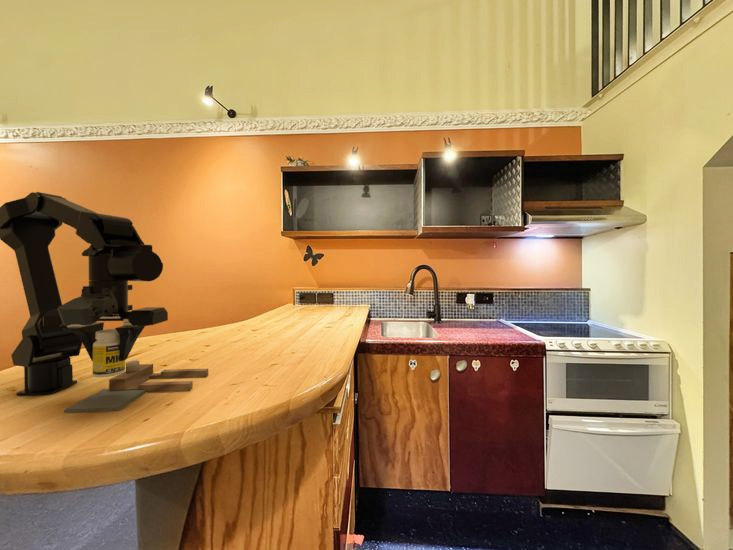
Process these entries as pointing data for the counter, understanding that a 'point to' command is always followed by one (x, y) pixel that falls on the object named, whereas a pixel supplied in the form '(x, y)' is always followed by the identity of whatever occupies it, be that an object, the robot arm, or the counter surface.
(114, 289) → the robot arm
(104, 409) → the mat
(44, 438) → the counter surface
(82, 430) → the counter surface
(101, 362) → the supplement bottle
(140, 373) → the plane body
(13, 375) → the counter surface
